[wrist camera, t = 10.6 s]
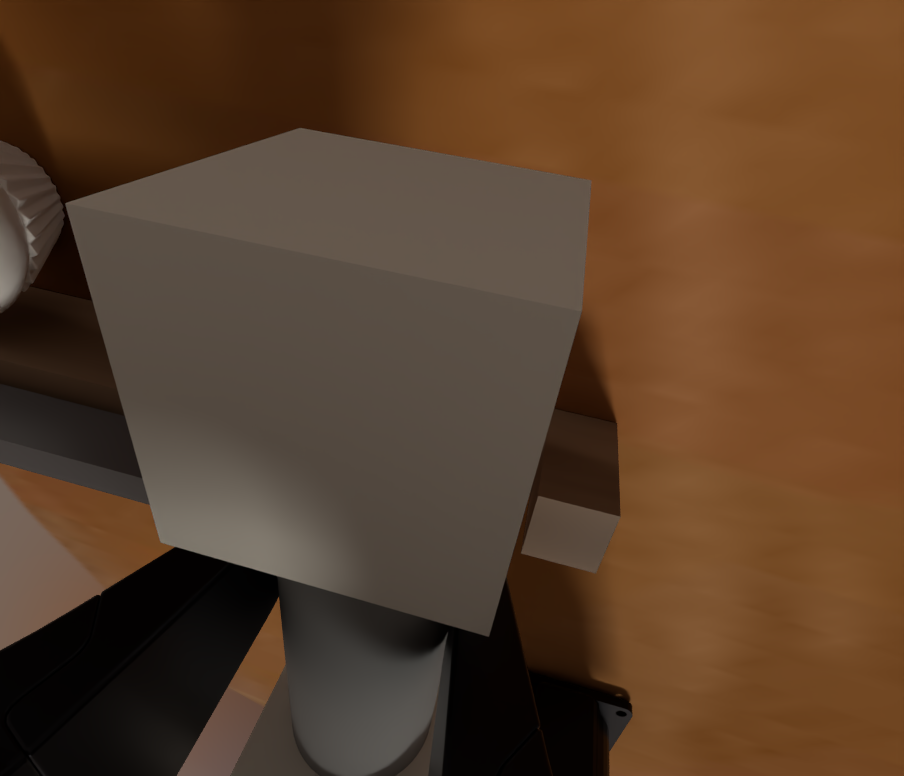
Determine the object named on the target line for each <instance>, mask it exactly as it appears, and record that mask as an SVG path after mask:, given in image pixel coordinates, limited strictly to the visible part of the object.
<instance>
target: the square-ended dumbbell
mask: <svg viewBox="0 0 904 776" xmlns="http://www.w3.org/2000/svg"><path fill="white" fill-rule="evenodd" d="M590 193H591V180H586V179H581V178H575V177H570V176H564V175H558V174H553V173H547V172H542V171H536V170H531V169H525V168H520V167H514V166H509V165H503V164H498V163H492V162H486V161H481V160H475V159H470V158H464V157H459V156H453V155H448V154H442V153H437V152H431V151H426V150H420V149H414V148H409V147H403V146H398V145H392V144H387V143H381V142H376V141H370V140H365V139H359V138H353V137H348V136H342V135H337V134H331V133H326V132H320V131H315V130H309V129H304V128H298V129H295V130H292V131H289V132H285V133H282V134H279V135H276V136H273V137H270V138H267V139H264V140H261V141H257V142H254V143H251V144H248V145H245V146H242V147H239V148H236V149H232V150H229V151H226V152H223V153H220V154H217V155H214V156H211V157H208V158H204V159H201V160H198V161H195V162H192V163H189V164H186V165H183V166H179V167H176V168H173V169H170V170H167V171H164V172H161V173H158V174H155V175H151V176H148V177H145V178H142V179H139V180H136V181H133V182H130V183H126V184H123V185H120V186H117V187H114V188H111V189H108V190H105V191H101V192H98V193H95V194H92V195H89V196H86V197H83V198H80V199H77V200H73V201H70V202H67V203H65V205H66V208H67V212H68V216H69V219H70V223H71V226H72V230H73V233H74V237H75V240H76V244H77V247H78V251H79V255H80V258H81V262H82V265H83V269H84V272H85V276H86V279H87V283H88V287H89V290H90V294H91V297H92V301H93V304H94V308H95V311H96V315H97V319H98V322H99V326H100V329H101V333H102V336H103V340H104V343H105V347H106V351H107V354H108V358H109V361H110V365H111V368H112V372H113V375H114V379H115V382H116V386H117V390H118V393H119V397H120V400H121V404H122V407H123V411H124V414H125V418H126V422H127V425H128V429H129V432H130V436H131V439H132V443H133V446H134V450H135V454H136V457H137V461H138V464H139V468H140V471H141V475H142V478H143V482H144V486H145V489H146V493H147V496H148V500H149V503H150V507H151V510H152V514H153V517H154V521H155V525H156V528H157V532H158V535H159V539H160V542H161V543H164V544H168V545H171V546H175V547H178V548H182V549H185V550H189V551H192V552H196V553H199V554H202V555H206V556H209V557H213V558H216V559H220V560H223V561H227V562H230V563H234V564H237V565H241V566H244V567H248V568H251V569H255V570H258V571H262V572H265V573H269V574H272V575H276V576H277V580H278V590H279V600H280V610H281V620H282V630H283V640H284V650H285V660H286V665H285V667H284V669H283V671H282V673H281V675H280V677H279V679H278V681H277V683H276V685H275V687H274V689H273V691H272V693H271V695H270V697H269V699H268V701H267V703H266V705H265V707H264V710H263V711H262V713H261V715H260V718H259V719H258V721H257V723H256V726H255V727H254V729H253V731H252V733H251V735H250V737H249V739H248V742H247V744H246V745H245V748H244V750H243V751H242V753H241V756H240V757H239V759H238V761H237V763H236V765H235V768H234V769H233V771H232V773H231V775H230V776H428V773H429V765H430V757H431V749H432V741H433V733H434V725H435V717H436V709H437V701H438V693H439V685H440V677H441V669H442V662H443V655H444V649H445V644H446V640H447V635H448V630H449V625H450V626H453V627H457V628H460V629H464V630H467V631H471V632H474V633H478V634H481V635H485V636H488V637H489V635H490V631H491V628H492V624H493V621H494V617H495V614H496V610H497V607H498V603H499V600H500V596H501V593H502V589H503V586H504V582H505V579H506V575H507V572H508V568H509V565H510V561H511V558H512V554H513V551H514V547H515V544H516V540H517V537H518V533H519V530H520V526H521V523H522V519H523V516H524V512H525V509H526V505H527V502H528V498H529V495H530V491H531V488H532V484H533V481H534V477H535V474H536V470H537V467H538V463H539V460H540V456H541V453H542V449H543V446H544V442H545V439H546V435H547V432H548V428H549V425H550V421H551V418H552V414H553V410H554V407H555V403H556V400H557V396H558V393H559V389H560V386H561V382H562V379H563V375H564V372H565V368H566V365H567V361H568V358H569V354H570V351H571V347H572V344H573V340H574V337H575V333H576V330H577V326H578V323H579V319H580V316H581V312H582V301H583V288H584V274H585V261H586V247H587V233H588V220H589V206H590Z"/></svg>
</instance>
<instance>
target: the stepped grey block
mask: <svg viewBox="0 0 904 776" xmlns="http://www.w3.org/2000/svg"><path fill="white" fill-rule="evenodd" d="M0 463H2V464H6V465H10V466H13V467H17V468H20V469H24V470H27V471H31V472H35V473H38V474H42V475H45V476H49V477H52V478H56V479H60V480H63V481H67V482H70V483H74V484H77V485H81V486H85V487H88V488H92V489H95V490H99V491H103V492H106V493H110V494H113V495H117V496H120V497H124V498H128V499H131V500H135V501H138V502H142V503H145V504H149V505H150V503H149V500H148V496H147V493H146V489H145V486H144V482H143V478H142V475H141V471H140V468H139V464H138V461H137V457H136V454H135V450H134V446H133V443H132V439H131V436H130V432H129V429H128V425H127V422H126V418H125V416H123V415H119V414H115V413H111V412H107V411H103V410H99V409H96V408H92V407H88V406H84V405H80V404H76V403H73V402H69V401H65V400H61V399H57V398H53V397H49V396H46V395H42V394H38V393H34V392H30V391H26V390H22V389H19V388H15V387H11V386H7V385H3V384H0Z"/></svg>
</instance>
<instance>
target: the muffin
mask: <svg viewBox="0 0 904 776" xmlns="http://www.w3.org/2000/svg"><path fill="white" fill-rule="evenodd" d="M60 199H61V197H60V196H59V194H58V193H57V191H56V186H55V185H53V184H52V182H51V178H50V177H49V176H48V175H46V174H45V172H44V169H43V167H41V166H38V164H37V163H36V161H35V159H33V158H30V156H29V155H28V154H27V153H25V152H22V151H21V150H20V149H19V148H18V147H15V146H12V145H10V144H8V143H6V142H3V141H0V313H2V312H4V311H5V310H6V309H8V308H9V307H10V306H11V305H12V304H13V303H14V302H15V301H16V300H17V298H18V297H19V295H20V293H21V291H23V292H25V291H26V290H27V289H28V288H29V286H30V284H31V283H34V281H35V279H36V278H37V276H38V274H39V272H40V270H41V269H42V267H43V265H44V263H45V261H46V259H47V257H48V256H49V254H50V252H51V250H52V248H53V246H54V245H55V243H56V241H57V239H58V237H59V235H60V234H61V229H62V227H63V225H64V221H63V218H64V217H65V215H64V213H63V211H62V209H63V208H64V206H63V204H62V203H61V201H60Z"/></svg>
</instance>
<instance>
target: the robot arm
mask: <svg viewBox="0 0 904 776" xmlns="http://www.w3.org/2000/svg"><path fill="white" fill-rule="evenodd" d="M278 597H279V590H278V580H277V576H276V575H272V574H269V573H265V572H262V571H258V570H255V569H251V568H248V567H244V566H241V565H237V564H234V563H230V562H227V561H223V560H220V559H216V558H213V557H209V556H206V555H202V554H199V553H196V552H192V551H189V550H185V549H182V548H178V547H174V548H173V549H171V550H170V551H168V552H166V553H165V554H163V555H161V556H160V557H158V558H156V559H155V560H153V561H152V562H150V563H148V564H147V565H145V566H143V567H142V568H140V569H139V570H137V571H135V572H134V573H132V574H130V575H129V576H127V577H125V578H124V579H122V580H121V581H119V582H117V583H116V584H114V585H112V586H111V587H109V588H107V589H106V590H104V591H103V592H102V593H101V596H100V595H96V596H94V597H92V598H91V599H89V600H88V601H86V602H84V603H83V604H81V605H79V606H78V607H76V608H75V609H73V610H71V611H69V612H68V613H66V614H64V615H63V616H61V617H59V618H57V619H56V620H54V621H52V622H51V623H49V624H47V625H46V626H44V627H42V628H40V629H39V630H37V631H35V632H33V633H32V634H30V635H28V636H26V637H24V638H22V639H20V640H19V641H17V642H15V643H13V644H11V645H9V646H7V647H6V648H4V649H2V650H0V776H177V774H178V772H179V770H180V769H181V767H182V766H183V764H184V762H185V760H186V759H187V757H188V755H189V753H190V752H191V750H192V748H193V746H194V745H195V743H196V741H197V739H198V738H199V736H200V734H201V732H202V731H203V729H204V727H205V725H206V724H207V722H208V720H209V718H210V717H211V715H212V713H213V711H214V710H215V708H216V706H217V704H218V702H219V701H220V699H221V698H222V696H223V694H224V692H225V690H226V689H227V687H228V685H229V684H230V682H231V680H232V678H233V677H234V675H235V673H236V671H237V670H238V668H239V666H240V664H241V663H242V661H243V659H244V658H245V656H246V654H247V652H248V651H249V649H250V647H251V645H252V644H253V642H254V640H255V638H256V637H257V635H258V633H259V631H260V630H261V628H262V626H263V624H264V623H265V621H266V619H267V617H268V616H269V614H270V612H271V610H272V608H273V607H274V605H275V603H276V601H277V599H278ZM631 718H632V705H631V704H630V703H629V702H628V701H625V700H622V699H619V698H616V697H612V696H609V695H605V694H602V693H599V692H595V691H592V690H588V689H585V688H582V687H578V686H575V685H571V684H568V683H564V682H561V681H558V680H554V679H551V678H547V677H544V676H541V675H537V674H534V673H530V672H528V669H527V664H526V660H525V656H524V651H523V647H522V643H521V638H520V634H519V629H518V625H517V621H516V616H515V612H514V608H513V603H512V599H511V595H510V590H509V586H508V581H507V577H506V579H505V582H504V586H503V589H502V593H501V596H500V600H499V603H498V607H497V610H496V614H495V617H494V621H493V624H492V628H491V631H490V635H489V637H488V636H485V635H481V634H478V633H474V632H471V631H467V630H464V629H460V628H457V627H453V626H450V625H449V630H448V635H447V640H446V644H445V649H444V655H443V662H442V669H441V677H440V685H439V693H438V701H437V709H436V717H435V725H434V733H433V741H432V749H431V757H430V765H429V773H428V776H609V751H610V750H611V748H612V747H613V745H614V744H615V742H616V741H617V739H618V738H619V736H620V735H621V733H622V731H623V730H624V728H625V727H626V725H627V724H628V722H629V721H630V719H631Z"/></svg>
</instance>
